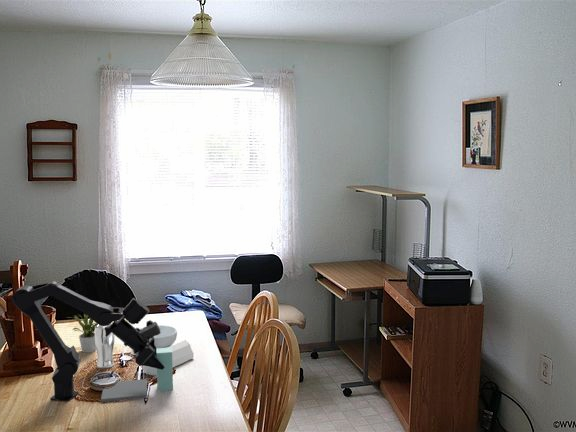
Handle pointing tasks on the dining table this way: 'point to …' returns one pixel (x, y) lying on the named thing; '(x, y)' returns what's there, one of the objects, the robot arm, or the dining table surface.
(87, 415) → the dining table surface
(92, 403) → the dining table surface
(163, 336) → the cereal bowl
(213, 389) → the dining table surface
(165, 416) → the dining table surface
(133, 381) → the rubber mat
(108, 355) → the beer glass
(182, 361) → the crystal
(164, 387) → the teal block
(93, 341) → the house plant
